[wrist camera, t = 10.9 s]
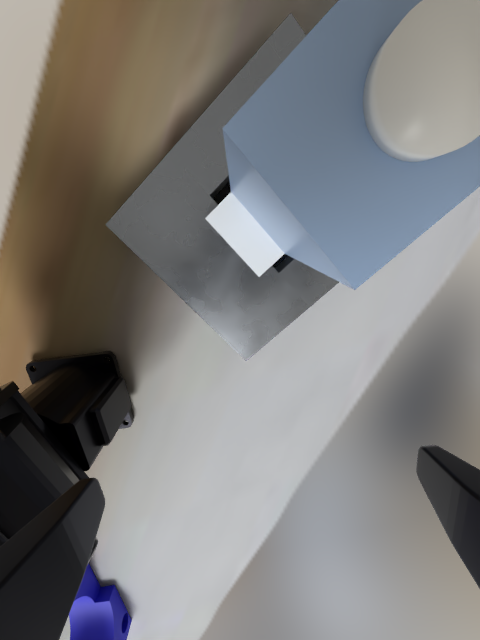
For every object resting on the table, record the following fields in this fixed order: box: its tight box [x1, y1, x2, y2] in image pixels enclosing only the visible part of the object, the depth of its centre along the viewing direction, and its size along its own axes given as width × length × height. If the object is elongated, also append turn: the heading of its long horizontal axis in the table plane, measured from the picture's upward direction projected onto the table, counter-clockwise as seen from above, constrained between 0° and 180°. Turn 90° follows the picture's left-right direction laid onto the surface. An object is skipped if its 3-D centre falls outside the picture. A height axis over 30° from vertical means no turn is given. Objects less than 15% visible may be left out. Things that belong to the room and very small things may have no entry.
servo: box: [205, 0, 480, 290], centre depth 11 cm, size 10×4×13 cm, turn 133°
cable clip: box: [69, 563, 132, 640], centre depth 26 cm, size 12×4×6 cm, turn 10°
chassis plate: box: [106, 13, 339, 361], centre depth 17 cm, size 14×12×2 cm
